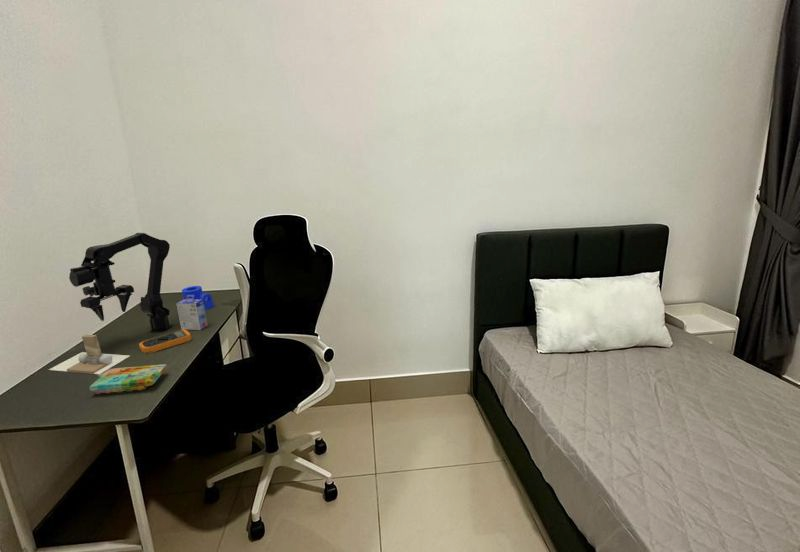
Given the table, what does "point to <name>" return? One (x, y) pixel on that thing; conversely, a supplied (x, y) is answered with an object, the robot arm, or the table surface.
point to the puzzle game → (127, 379)
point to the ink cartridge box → (192, 313)
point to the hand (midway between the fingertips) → (113, 316)
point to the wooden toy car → (92, 349)
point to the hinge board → (82, 366)
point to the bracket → (198, 295)
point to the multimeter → (165, 341)
